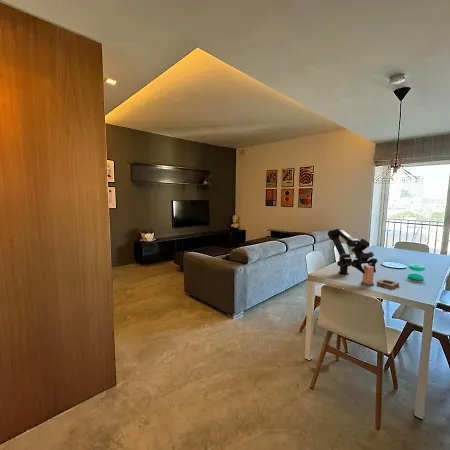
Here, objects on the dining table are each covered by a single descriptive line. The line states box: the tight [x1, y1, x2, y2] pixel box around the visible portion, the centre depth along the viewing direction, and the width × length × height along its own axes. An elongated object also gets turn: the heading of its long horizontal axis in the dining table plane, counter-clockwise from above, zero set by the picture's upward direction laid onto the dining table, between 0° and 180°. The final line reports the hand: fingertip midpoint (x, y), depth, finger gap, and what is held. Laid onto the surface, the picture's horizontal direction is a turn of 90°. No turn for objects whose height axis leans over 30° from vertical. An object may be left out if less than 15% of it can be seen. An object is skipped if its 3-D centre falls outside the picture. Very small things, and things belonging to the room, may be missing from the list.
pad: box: [360, 280, 375, 287], centre depth 184 cm, size 8×8×1 cm
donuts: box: [407, 263, 426, 281], centre depth 197 cm, size 10×10×10 cm
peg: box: [361, 264, 375, 284], centre depth 183 cm, size 5×5×12 cm
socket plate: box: [376, 278, 400, 290], centre depth 181 cm, size 10×10×2 cm
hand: (369, 272), depth 182 cm, fingers open, 9 cm apart
